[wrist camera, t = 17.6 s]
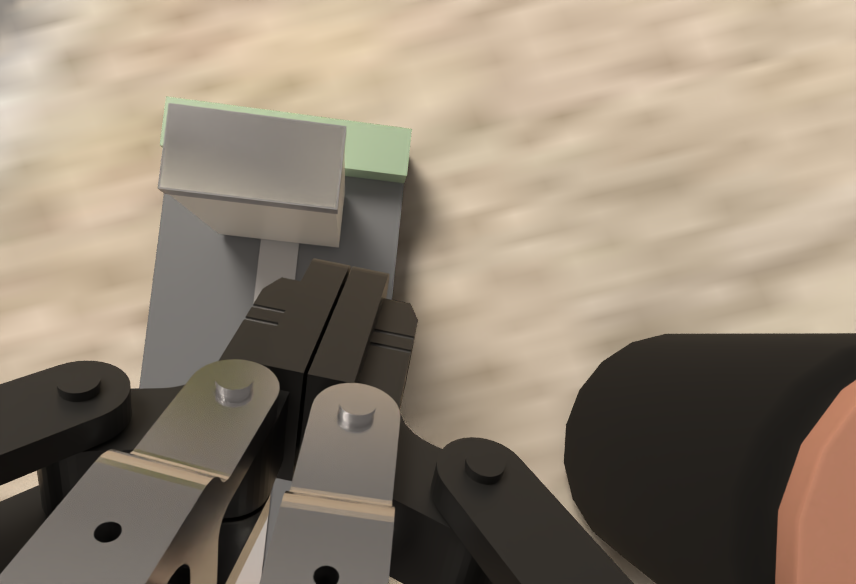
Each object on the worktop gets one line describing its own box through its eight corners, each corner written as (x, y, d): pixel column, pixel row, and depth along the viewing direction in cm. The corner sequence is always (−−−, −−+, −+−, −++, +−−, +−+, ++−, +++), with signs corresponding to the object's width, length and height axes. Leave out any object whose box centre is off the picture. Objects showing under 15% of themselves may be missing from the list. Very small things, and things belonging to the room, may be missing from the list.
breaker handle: (225, 176, 30) (168, 102, 21) (346, 191, 31) (346, 125, 21) (217, 235, 30) (157, 188, 20) (339, 248, 31) (337, 209, 21)
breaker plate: (185, 121, 32) (166, 96, 29) (404, 150, 34) (411, 128, 30) (122, 620, 31) (94, 657, 27) (354, 633, 32) (355, 670, 28)
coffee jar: (566, 573, 33) (821, 851, 15) (545, 343, 34) (769, 352, 16) (781, 546, 34) (1248, 774, 17) (757, 325, 35) (1186, 315, 17)
